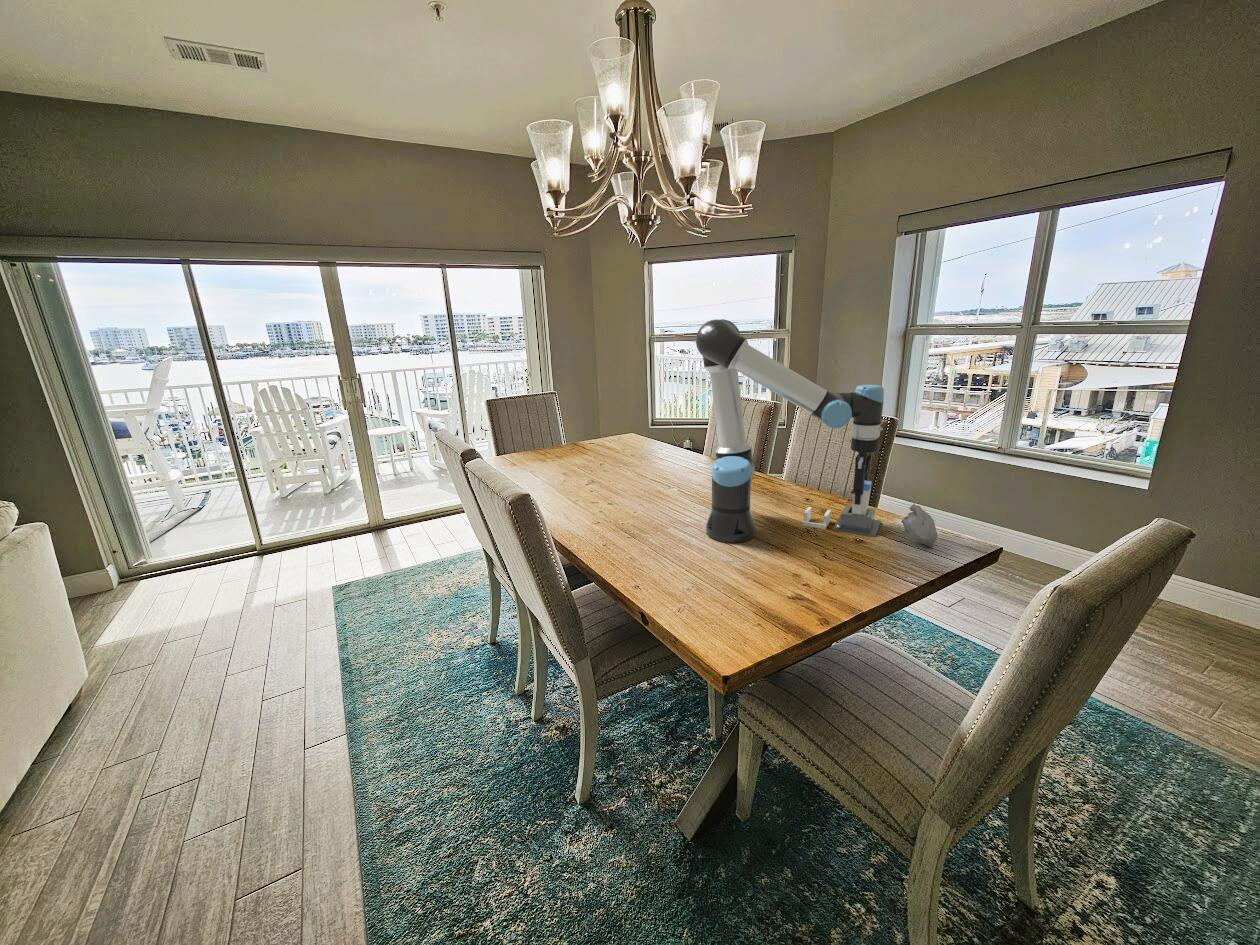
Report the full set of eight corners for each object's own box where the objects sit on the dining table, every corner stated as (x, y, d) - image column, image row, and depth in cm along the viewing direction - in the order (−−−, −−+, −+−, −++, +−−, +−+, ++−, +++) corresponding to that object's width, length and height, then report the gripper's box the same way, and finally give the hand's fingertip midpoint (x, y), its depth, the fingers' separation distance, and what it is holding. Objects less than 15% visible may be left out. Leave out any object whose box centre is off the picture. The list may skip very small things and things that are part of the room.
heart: (913, 554, 131) (926, 513, 128) (889, 539, 140) (901, 501, 137) (944, 556, 133) (958, 515, 130) (919, 541, 142) (931, 503, 138)
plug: (850, 524, 150) (855, 482, 146) (852, 520, 154) (857, 479, 149) (864, 527, 148) (870, 484, 144) (865, 523, 152) (871, 481, 147)
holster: (802, 525, 154) (803, 513, 152) (807, 518, 159) (808, 506, 158) (825, 529, 150) (826, 517, 149) (830, 521, 155) (831, 510, 154)
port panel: (832, 529, 149) (833, 515, 148) (840, 516, 160) (841, 501, 158) (875, 537, 143) (876, 521, 141) (880, 522, 153) (882, 507, 152)
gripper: (874, 445, 133) (867, 522, 140) (883, 432, 149) (876, 502, 155) (845, 443, 137) (839, 518, 144) (857, 430, 153) (851, 498, 159)
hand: (858, 509), depth 150 cm, fingers open, 6 cm apart
